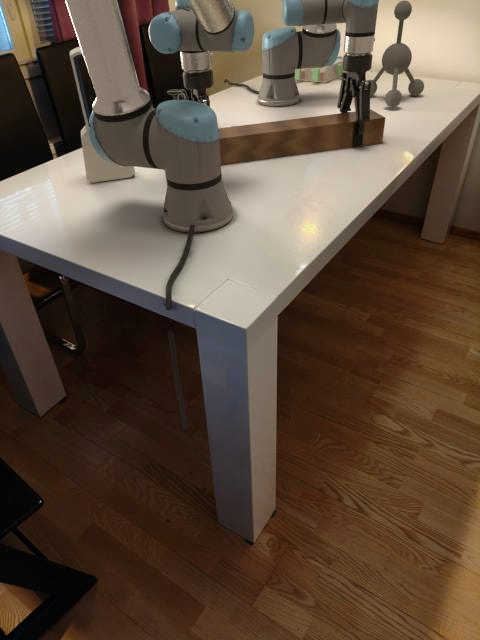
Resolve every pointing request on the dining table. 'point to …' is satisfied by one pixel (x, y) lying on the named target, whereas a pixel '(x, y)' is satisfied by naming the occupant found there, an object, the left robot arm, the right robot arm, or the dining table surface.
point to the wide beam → (295, 137)
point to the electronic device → (93, 162)
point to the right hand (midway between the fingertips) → (350, 140)
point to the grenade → (178, 94)
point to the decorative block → (321, 72)
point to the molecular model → (398, 61)
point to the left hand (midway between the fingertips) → (205, 159)
